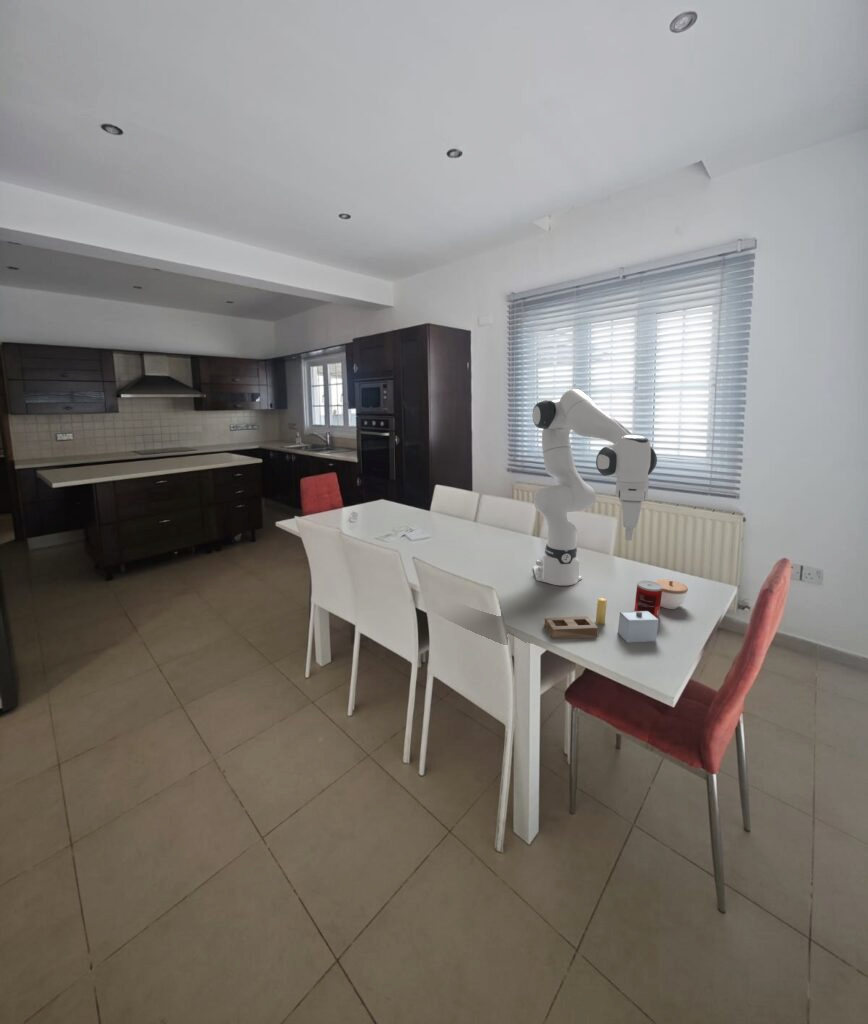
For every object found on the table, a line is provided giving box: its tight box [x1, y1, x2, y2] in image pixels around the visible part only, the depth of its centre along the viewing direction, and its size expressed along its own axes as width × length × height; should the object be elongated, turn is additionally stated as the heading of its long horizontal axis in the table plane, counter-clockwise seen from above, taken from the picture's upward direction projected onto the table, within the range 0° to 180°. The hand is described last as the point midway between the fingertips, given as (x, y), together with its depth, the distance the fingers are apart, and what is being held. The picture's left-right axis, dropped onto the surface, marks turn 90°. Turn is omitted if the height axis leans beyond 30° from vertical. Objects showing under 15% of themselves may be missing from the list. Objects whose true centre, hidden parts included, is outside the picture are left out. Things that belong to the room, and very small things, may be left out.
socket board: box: [543, 615, 599, 640], centre depth 143 cm, size 8×14×3 cm, turn 95°
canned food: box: [633, 580, 662, 619], centre depth 153 cm, size 8×8×11 cm
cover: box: [617, 610, 660, 643], centre depth 139 cm, size 6×9×8 cm, turn 95°
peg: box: [595, 597, 608, 625], centre depth 148 cm, size 3×3×8 cm
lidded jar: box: [654, 579, 689, 610], centre depth 161 cm, size 11×11×9 cm
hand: (628, 536), depth 138 cm, fingers open, 8 cm apart
